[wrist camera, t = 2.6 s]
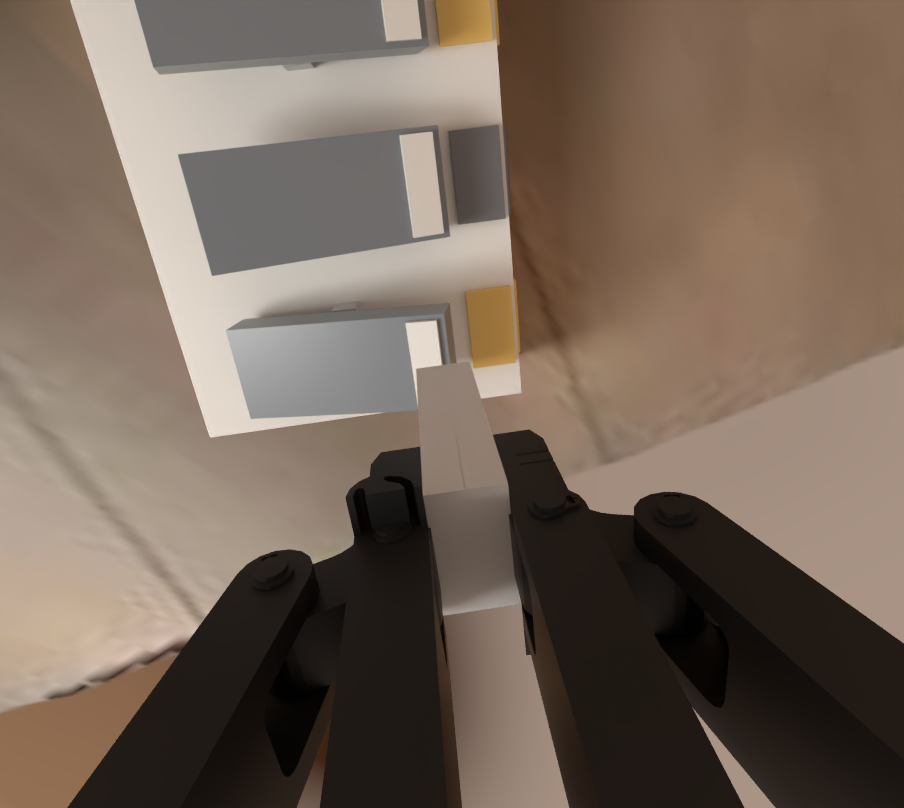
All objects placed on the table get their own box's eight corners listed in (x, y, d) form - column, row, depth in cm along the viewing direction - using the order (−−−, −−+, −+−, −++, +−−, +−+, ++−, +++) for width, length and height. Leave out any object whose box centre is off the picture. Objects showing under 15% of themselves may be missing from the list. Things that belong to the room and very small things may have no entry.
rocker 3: (266, 403, 26) (248, 420, 25) (243, 319, 25) (223, 331, 23) (460, 393, 25) (454, 411, 23) (449, 302, 23) (443, 315, 22)
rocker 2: (214, 269, 22) (211, 277, 20) (182, 155, 20) (176, 154, 19) (438, 233, 24) (451, 237, 23) (425, 128, 23) (439, 124, 21)
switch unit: (236, 397, 32) (202, 449, 26) (107, -46, 24) (19, -108, 18) (508, 358, 33) (533, 401, 27) (473, -85, 24) (498, -157, 19)
